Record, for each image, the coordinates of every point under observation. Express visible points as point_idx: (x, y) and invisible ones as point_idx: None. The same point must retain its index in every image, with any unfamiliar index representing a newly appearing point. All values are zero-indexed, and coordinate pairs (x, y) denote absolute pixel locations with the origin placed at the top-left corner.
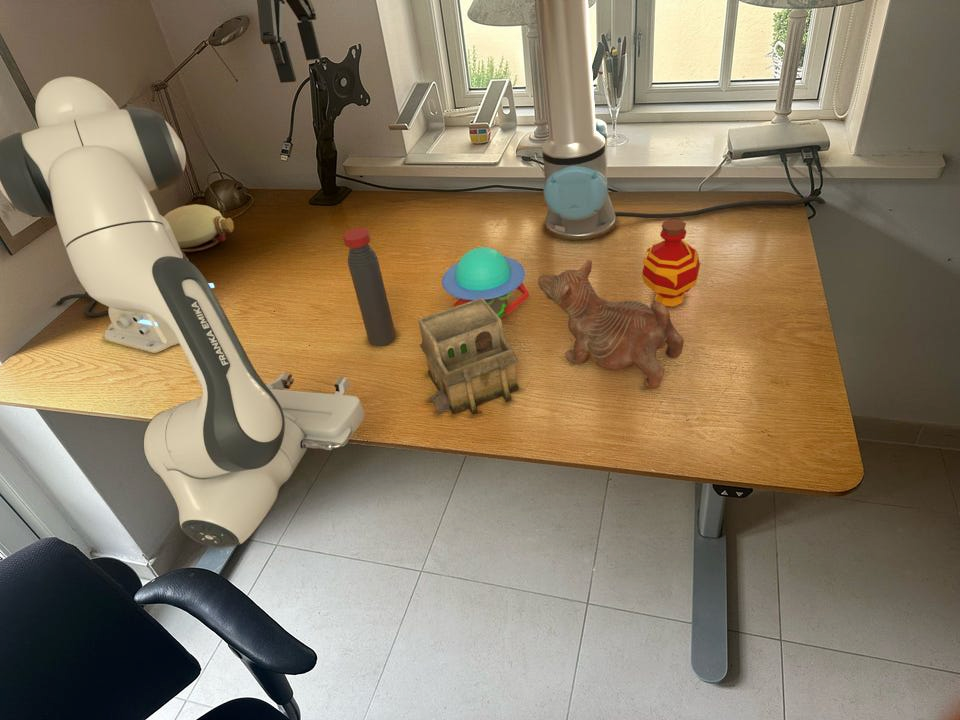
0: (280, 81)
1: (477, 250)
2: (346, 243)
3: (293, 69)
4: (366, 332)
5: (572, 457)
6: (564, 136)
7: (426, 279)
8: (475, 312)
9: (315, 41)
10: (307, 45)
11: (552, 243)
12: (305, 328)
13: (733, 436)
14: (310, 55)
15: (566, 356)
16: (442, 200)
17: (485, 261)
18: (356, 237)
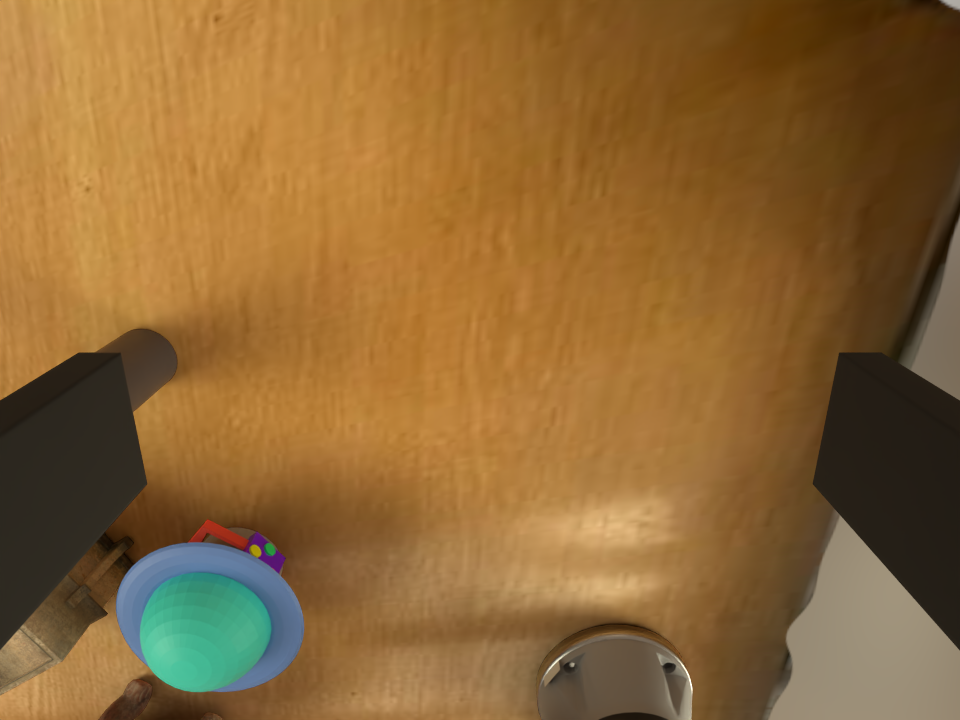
0: (70, 360)
1: (186, 666)
2: None
3: (93, 542)
4: (114, 340)
5: None
6: None
7: (390, 404)
8: (13, 652)
9: (911, 594)
10: (917, 471)
11: (537, 637)
12: (152, 151)
13: None
14: (848, 425)
15: (133, 682)
16: (828, 366)
17: (158, 676)
18: None
